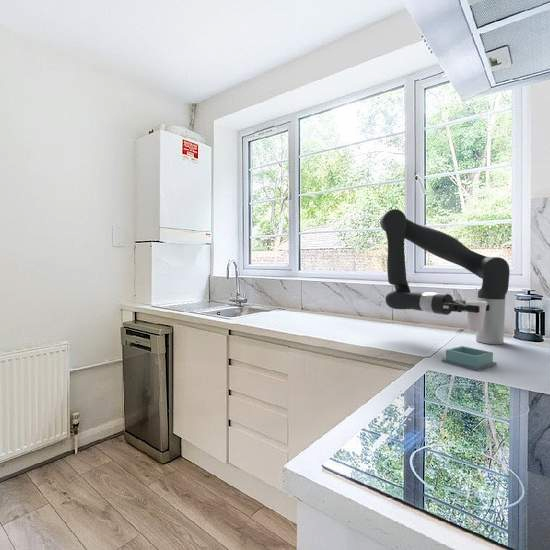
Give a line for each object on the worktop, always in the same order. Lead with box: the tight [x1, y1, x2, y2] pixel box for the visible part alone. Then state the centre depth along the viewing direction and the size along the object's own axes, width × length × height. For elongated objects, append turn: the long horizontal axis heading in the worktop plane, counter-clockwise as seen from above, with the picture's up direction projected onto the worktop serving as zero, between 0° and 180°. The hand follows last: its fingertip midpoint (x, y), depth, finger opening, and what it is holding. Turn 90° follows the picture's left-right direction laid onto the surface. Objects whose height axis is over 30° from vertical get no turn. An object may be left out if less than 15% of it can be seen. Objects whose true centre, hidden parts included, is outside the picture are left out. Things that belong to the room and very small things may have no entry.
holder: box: [441, 345, 497, 372], centre depth 108 cm, size 11×11×4 cm
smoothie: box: [465, 287, 487, 332], centre depth 116 cm, size 6×6×14 cm
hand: (484, 308), depth 114 cm, fingers closed on smoothie, 6 cm apart
